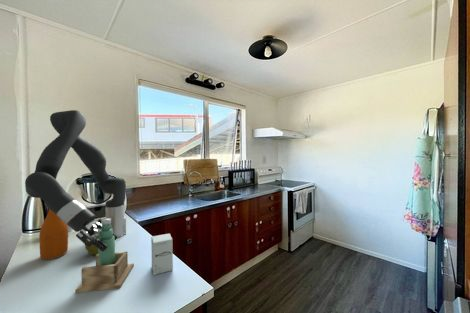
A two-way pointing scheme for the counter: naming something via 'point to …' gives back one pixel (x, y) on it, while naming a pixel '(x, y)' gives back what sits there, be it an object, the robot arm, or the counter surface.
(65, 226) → the wine bottle
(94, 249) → the apple
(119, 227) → the robot arm
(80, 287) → the U stand
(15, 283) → the counter surface
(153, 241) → the supplement box
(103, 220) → the green bottle
